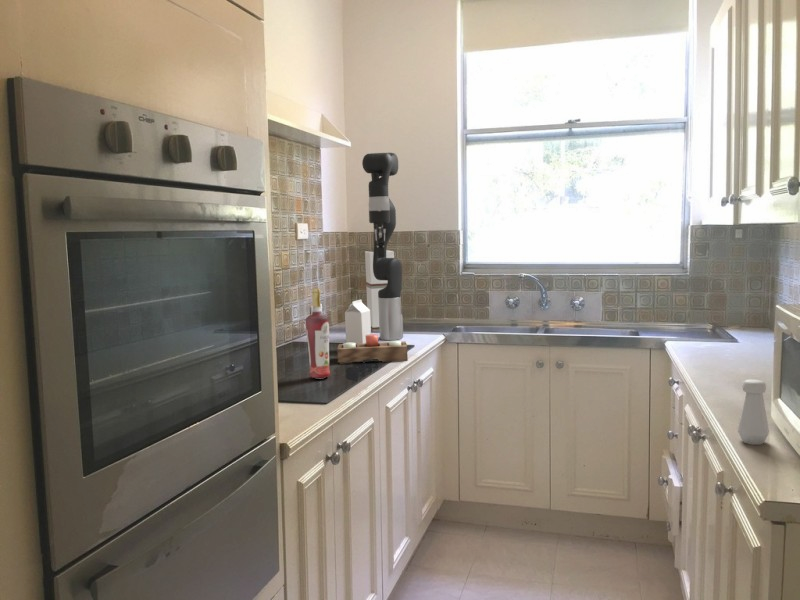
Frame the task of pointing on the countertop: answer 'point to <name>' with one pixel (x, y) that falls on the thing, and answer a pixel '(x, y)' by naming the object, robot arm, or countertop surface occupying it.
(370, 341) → the red ball
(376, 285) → the white notched tower
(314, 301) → the liquor
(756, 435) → the salt shaker
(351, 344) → the pale green sphere
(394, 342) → the cream white sphere
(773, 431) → the countertop surface
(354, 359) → the wooden ball rack
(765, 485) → the countertop surface
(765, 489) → the countertop surface
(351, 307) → the milk carton
